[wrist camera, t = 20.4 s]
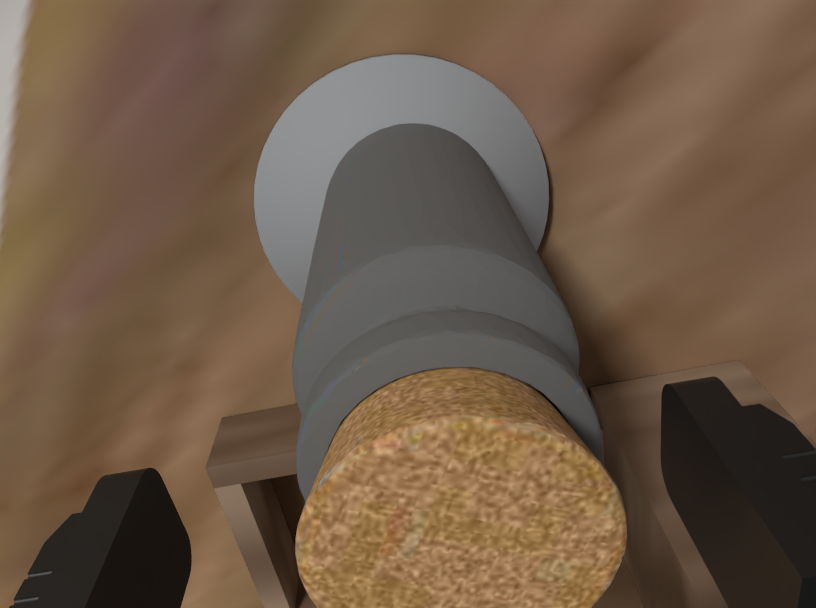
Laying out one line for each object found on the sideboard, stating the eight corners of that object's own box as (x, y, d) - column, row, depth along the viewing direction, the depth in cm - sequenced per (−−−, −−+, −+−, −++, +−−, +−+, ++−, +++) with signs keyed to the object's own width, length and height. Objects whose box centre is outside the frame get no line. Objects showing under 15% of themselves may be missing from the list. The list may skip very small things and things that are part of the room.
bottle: (431, 313, 25) (498, 729, 11) (292, 230, 23) (178, 604, 10) (532, 185, 23) (760, 508, 9) (388, 83, 21) (412, 298, 8)
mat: (217, 88, 21) (214, 90, 21) (530, 24, 21) (534, 25, 20) (298, 353, 26) (297, 360, 25) (557, 305, 25) (560, 311, 25)
